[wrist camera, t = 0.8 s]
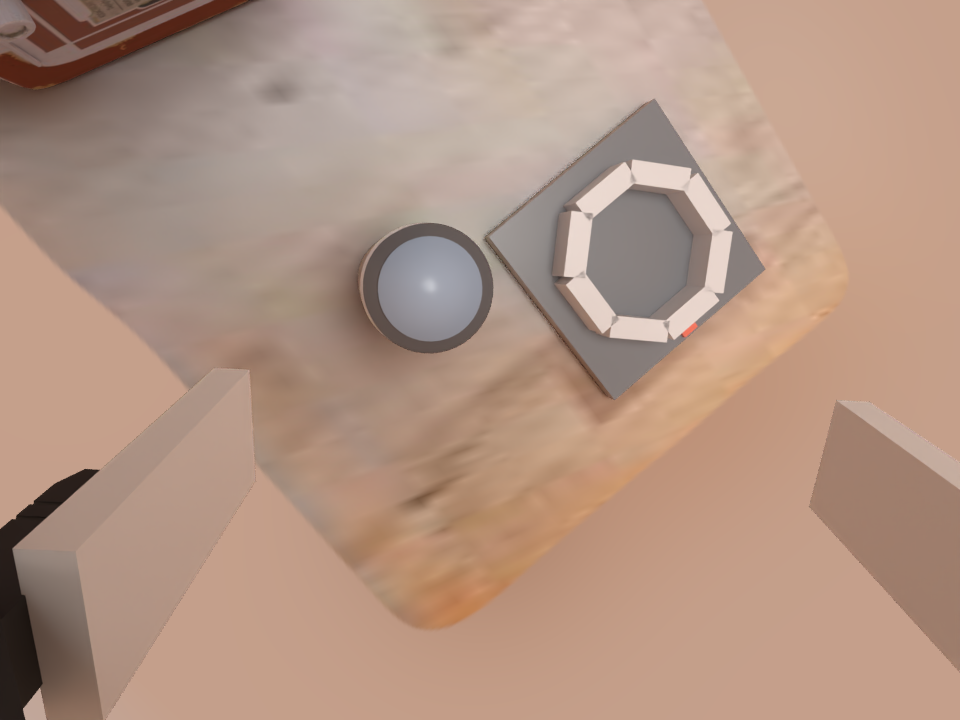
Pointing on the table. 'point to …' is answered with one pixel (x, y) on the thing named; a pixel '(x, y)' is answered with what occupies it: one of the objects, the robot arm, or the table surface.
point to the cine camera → (86, 33)
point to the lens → (426, 287)
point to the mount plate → (627, 250)
